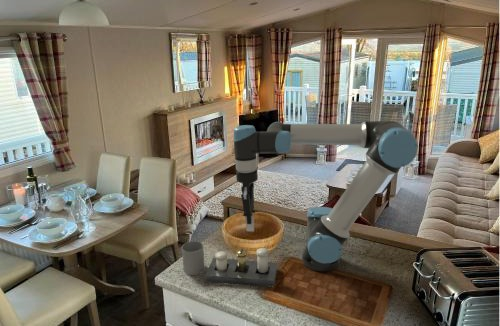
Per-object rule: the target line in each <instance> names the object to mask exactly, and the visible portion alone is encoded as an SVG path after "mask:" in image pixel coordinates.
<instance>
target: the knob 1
mask: <svg viewBox="0 0 500 326" xmlns="http://www.w3.org/2000/svg"><path fill="white" fill-rule="evenodd" d="M214 256H215V257H214V258H216V264H217V271H227V259H228V253H227V252H226V251H218V252H215V254H214Z"/></svg>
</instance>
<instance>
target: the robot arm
mask: <svg viewBox="0 0 500 326" xmlns="http://www.w3.org/2000/svg"><path fill="white" fill-rule="evenodd" d="M232 141H233V147H234V148H233V149H234V160H233V163H234V164H235V174H236V175H235V176H236V177H235V178H236V181H237V182H238V183H240V184H242V186H241V189H240V190H241V193H242V194H241V195H240V197H241V203H242V208H243V216H244V217H245V228H246V232H255V218H254V214H255V213H256V210H254V209H255V195H254V193H255V192H254V188H255V182H257V181H258V179H259V177H258V159H257V155H258V154H280V155H281V154H288V153H290V152H291V151H292V145H323V146H325V145H327V146H329V145H331V146H332V145H333V146H360V147H361V148H362V149H367V151H366V153H365V158H366V160H365V162H364V163H363V165H362V166H361V168H360V169H359V170H358V172H357V173H356V174H355V176H354V178H353V179H352V180H351V182H350V184H349V185H348V186H347V188H346V189H345V191H344V192H343V193H342V195H341V196H340V197H339V199H338V200H337V202H336V203H335V204H334V206H333V208H332V207H327V206H315V207H311V208H309V209H308V210H307V215H306V218H307V219H306V220H307V222H306V223H307V224H306V227H307V228H306V244H305V247H304V249H303V251H302V254H301V263H302V264H303V265H304V266H305V267H306V268H308V269H310V270H313V271H317V272H331V271H334V270H336V269H337V268H338V267H339V266H340V260H341V258H340V257H341V256H342V254H343V246H344V244H346V241H348V239H349V238H350V229H351V227H352V226H353V225H354V224H355V221H356V220H357V219H358V218H359V216H360V215H361V214H362V213H363V211H364V210H365V208H366V207H367V205H368V204H369V203H370V202H371V200H372V199H373V197H374V196H375V194H377V192H378V191H379V189H380V188H381V186H382V185H383V184H384V183H385V181H386V180H387V179H388V177H389V176H391V175H396V174H398V172H399V170H401V168H402V167H403V168H404V167H405V166H408V165H409V164H410V163H412V162H413V161H414V159H415V158H416V157H417V154H418V148H419V147H418V142H417V139H416V137H415V135H414V134H413V133H412V132H411V131H410V130H408V129H407V128H405V126H403V125H402V124H400V123H399V122H397V121H392V120H373V121H371V120H369V121H367V120H365V121H363V122H361V123H358V124H357V123H355V124H354V123H283V122H281V121H275V122H272V123H271V124H269V126H268V127H267V129H266V131H256V128H255V126H254V125H250V124H244V125H237V126H236V127H234V129H233V140H232Z"/></svg>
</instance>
